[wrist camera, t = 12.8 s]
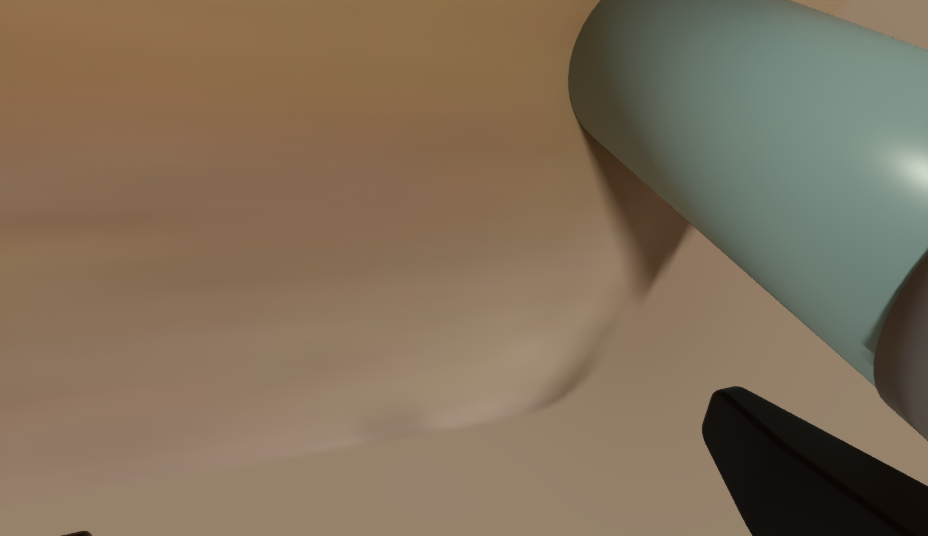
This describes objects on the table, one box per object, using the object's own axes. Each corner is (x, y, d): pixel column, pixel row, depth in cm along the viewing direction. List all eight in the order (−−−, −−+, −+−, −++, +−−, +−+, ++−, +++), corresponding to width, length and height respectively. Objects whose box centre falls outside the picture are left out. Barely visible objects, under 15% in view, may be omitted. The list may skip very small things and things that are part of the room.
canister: (536, 131, 22) (861, 461, 12) (617, -70, 20) (1149, 112, 9) (682, 166, 25) (1060, 460, 14) (772, -8, 22) (1329, 192, 11)
